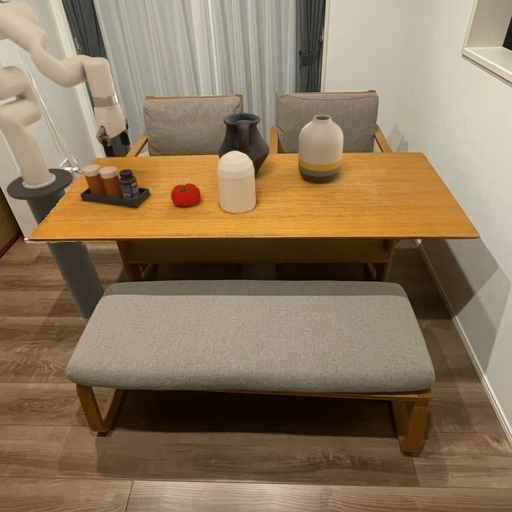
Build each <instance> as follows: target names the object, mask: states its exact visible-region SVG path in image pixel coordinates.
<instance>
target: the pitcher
mask: <svg viewBox="0 0 512 512" xmlns="http://www.w3.org/2000/svg"><path fill="white" fill-rule="evenodd" d="M222 120H223V123H224V125H225V135H224V138H223V141H222V143H221V145H220V146H219V148H218V158H219V159H220V158H221V157H222V156H223V155H225V154H226V153H228V152H231V151H239V152H241V153H244V154H246V155H247V156H248V157H249V158H250V159H251V161H252V162H253V166H254V175H255V176H257V174H258V172H259V171H260V169H261V167H262V166H263V164H264V163H265V161H266V159H267V158H268V156H269V154H270V147H269V145H268V143H267V142H266V140H265V139H264V138H263V137H262V135H261V133H260V131H259V128H258V124H259V123H260V122H261V121H262V120H261V116H259V115H256V114H254V113H250V112H238V113H237V112H236V113H233V114H229V115H227V116H224V118H223V119H222Z"/></svg>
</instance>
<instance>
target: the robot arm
mask: <svg viewBox="0 0 512 512" xmlns="http://www.w3.org/2000/svg"><path fill="white" fill-rule="evenodd" d="M7 39H8V40H10V41H11V42H12V43H14V44H16V45H17V46H19V47H20V48H21V49H23V50H24V51H26V52H28V54H30V58H31V60H32V62H33V64H34V66H35V67H36V69H37V71H39V72H40V73H41V74H42V75H43V76H44V77H45V78H47V79H49V81H52V82H53V83H55V84H56V85H58V86H60V87H63V88H66V89H67V88H68V89H69V88H73V87H76V86H78V85H80V84H83V83H85V82H87V84H88V88H89V91H90V95H91V98H92V101H93V105H94V107H93V112H94V121H95V126H96V130H97V133H96V135H95V138H96V139H97V141H98V143H99V144H101V145H102V146H103V149H104V153H105V156H106V157H112V158H113V157H115V156H116V154H115V151H114V146H113V144H112V139H114V138H115V137H117V136H118V135H119V138H120V142H121V145H122V146H131V141H130V137H129V133H130V132H129V118H127V117H125V116H124V112H123V110H122V107H121V104H120V102H119V100H118V99H119V98H118V95H117V91H116V86H115V82H114V79H113V74H112V71H111V66H110V62H109V61H108V60H107V58H105V57H101V56H95V57H92V56H89V55H86V54H77V55H74V56H70V57H67V58H63V59H61V60H59V59H57V58H55V57H54V56H53V55H52V54H50V53H48V52H47V50H48V47H49V43H50V38H49V34H48V33H47V31H46V30H45V29H44V28H42V27H41V26H39V18H38V15H37V13H36V12H35V10H34V9H33V8H32V7H31V5H29V4H28V3H26V2H25V1H21V0H15V1H8V2H0V41H3V40H7ZM14 97H15V99H13V100H10V101H8V102H5V103H3V104H0V132H1V133H2V135H3V136H4V138H5V140H6V142H7V144H8V147H9V149H10V151H11V152H12V154H13V156H14V159H15V161H16V163H17V166H18V168H19V173H18V174H17V176H18V178H19V177H23V179H24V181H23V186H24V188H27V189H39V188H43V187H46V186H49V185H51V184H52V183H54V182H55V180H56V177H55V175H54V174H51V173H49V170H48V169H49V167H48V166H47V163H46V159H45V158H44V155H43V153H42V150H41V148H40V145H39V143H38V141H37V139H36V137H35V136H34V135H33V134H32V133H31V132H30V131H28V130H27V127H28V126H31V125H33V124H34V123H37V122H39V121H40V120H42V117H43V109H42V106H41V103H40V101H39V98H38V97H37V94H36V91H35V89H34V87H33V84H32V82H31V80H30V78H29V76H28V75H27V74H26V72H25V71H24V70H22V69H21V68H20V67H18V66H16V65H7V66H3V65H2V63H1V62H0V102H2V101H6V100H8V99H11V98H14Z"/></svg>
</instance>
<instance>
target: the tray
mask: <svg viewBox="0 0 512 512" xmlns="http://www.w3.org/2000/svg"><path fill="white" fill-rule="evenodd" d="M138 188H139V192H140V196H139V197H138V198H137V199H136V200H135V201H132V200H125V199H124V196H123V197H122V198H120V199H118V198H110V197H108V196H107V194H106V195H105V196H96V195H91V192H90V189H89V187H87V188H86V189H84V191H82V192H80V194H79V195H80V197H81V200H82V201H83V202H84V201H85V202H91V203H97V204H104V205H112V206H117V207H118V206H119V207H126V208H133V209H138V207H140V206H141V204H143V203H144V202H145V201H146V200H147V199H148V198H149V197H150V196H151V191H150V188H147V187H139V186H138Z"/></svg>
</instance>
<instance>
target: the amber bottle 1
mask: <svg viewBox="0 0 512 512" xmlns="http://www.w3.org/2000/svg"><path fill="white" fill-rule="evenodd" d="M101 169H102V168H101V166H100V165H99V164H97V163H96V164H95V163H94V164H88V165H85V166H83V167H82V172H83V175H84V177H85V180H86V183H87V186H88V188H89V189H90V192H91V195H96V196H105V195H106V194H107V193H106V190H105V186H104V183H103V180H102V177H101V175H100V170H101Z"/></svg>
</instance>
